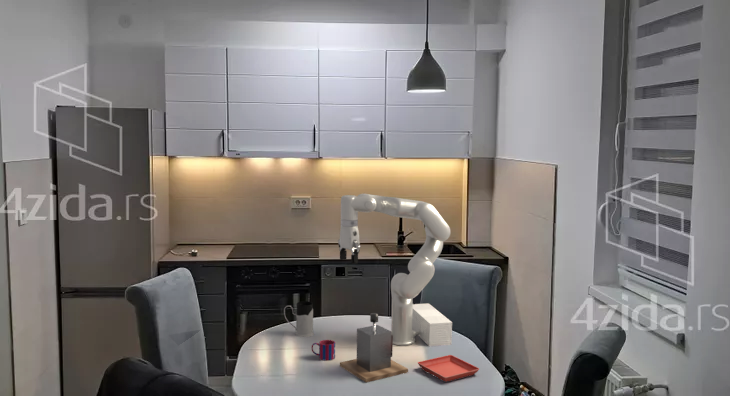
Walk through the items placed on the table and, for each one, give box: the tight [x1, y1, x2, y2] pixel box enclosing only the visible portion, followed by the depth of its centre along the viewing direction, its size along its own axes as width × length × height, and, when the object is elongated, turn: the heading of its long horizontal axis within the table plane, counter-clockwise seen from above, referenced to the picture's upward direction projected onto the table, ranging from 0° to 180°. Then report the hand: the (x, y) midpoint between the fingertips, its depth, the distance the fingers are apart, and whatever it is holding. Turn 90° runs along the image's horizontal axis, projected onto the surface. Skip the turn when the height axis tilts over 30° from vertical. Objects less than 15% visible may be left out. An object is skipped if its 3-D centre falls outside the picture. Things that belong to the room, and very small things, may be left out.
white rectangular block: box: [412, 302, 453, 347], centre depth 298 cm, size 32×11×11 cm, turn 13°
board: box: [339, 358, 409, 383], centre depth 253 cm, size 20×20×2 cm
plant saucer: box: [417, 354, 480, 383], centre depth 251 cm, size 18×18×3 cm
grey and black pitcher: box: [283, 300, 315, 338], centre depth 295 cm, size 9×14×15 cm, turn 89°
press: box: [356, 324, 394, 372], centre depth 253 cm, size 13×10×15 cm
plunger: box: [369, 312, 379, 331], centre depth 252 cm, size 8×8×21 cm
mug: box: [311, 339, 336, 362], centre depth 266 cm, size 7×10×7 cm
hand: (348, 261), depth 278 cm, fingers open, 9 cm apart
